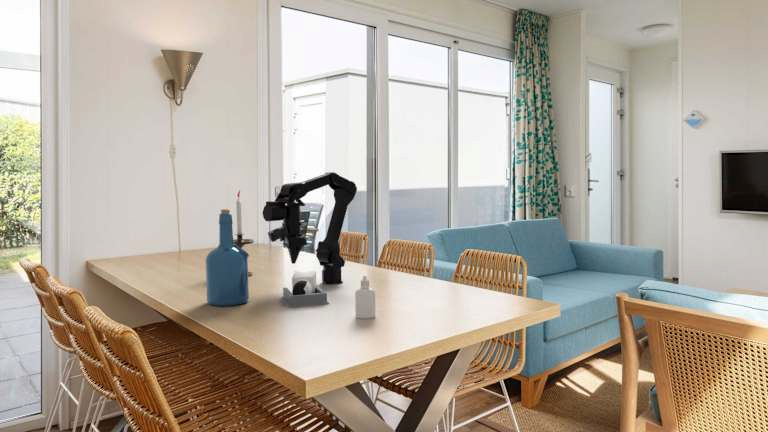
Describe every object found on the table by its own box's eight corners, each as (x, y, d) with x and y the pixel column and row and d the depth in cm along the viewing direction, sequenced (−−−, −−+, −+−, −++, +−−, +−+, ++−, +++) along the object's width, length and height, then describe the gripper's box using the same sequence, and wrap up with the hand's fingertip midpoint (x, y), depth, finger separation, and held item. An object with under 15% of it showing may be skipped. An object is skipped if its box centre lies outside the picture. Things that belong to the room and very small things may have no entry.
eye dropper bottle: (361, 314, 161) (360, 273, 160) (377, 316, 158) (377, 274, 157) (353, 318, 157) (352, 276, 156) (370, 320, 154) (369, 277, 154)
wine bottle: (211, 309, 170) (207, 211, 168) (203, 300, 182) (200, 209, 180) (255, 303, 176) (252, 209, 174) (245, 296, 188) (242, 207, 186)
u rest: (281, 298, 184) (281, 287, 184) (318, 294, 188) (318, 284, 188) (288, 307, 171) (288, 296, 170) (328, 303, 175) (328, 293, 175)
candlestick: (260, 274, 228) (257, 189, 226) (240, 279, 219) (237, 190, 217) (241, 272, 234) (238, 189, 232) (221, 276, 225) (218, 190, 223)
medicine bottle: (295, 291, 189) (290, 303, 177) (294, 271, 187) (289, 282, 175) (316, 290, 189) (313, 303, 177) (315, 270, 187) (312, 281, 176)
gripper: (265, 218, 201) (266, 261, 203) (273, 222, 184) (274, 269, 185) (295, 217, 205) (296, 259, 206) (306, 221, 188) (307, 266, 189)
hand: (293, 263), depth 197 cm, fingers closed
